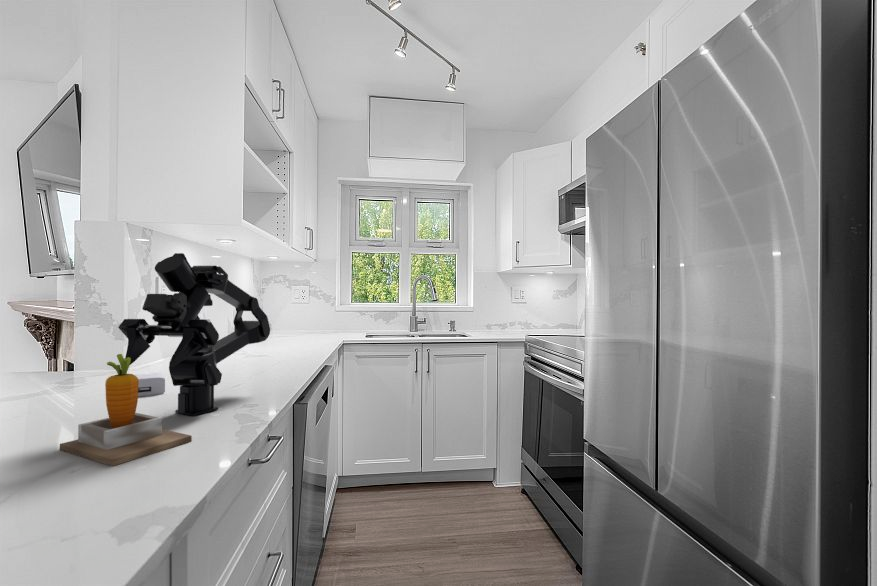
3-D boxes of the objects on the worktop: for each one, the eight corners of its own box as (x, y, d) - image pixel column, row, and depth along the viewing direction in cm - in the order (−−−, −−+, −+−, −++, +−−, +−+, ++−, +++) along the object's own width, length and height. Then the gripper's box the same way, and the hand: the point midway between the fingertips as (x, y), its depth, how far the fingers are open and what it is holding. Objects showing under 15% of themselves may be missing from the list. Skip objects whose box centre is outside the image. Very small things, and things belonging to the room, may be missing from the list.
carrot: (134, 440, 76) (135, 355, 76) (100, 443, 74) (100, 357, 74) (141, 431, 81) (142, 352, 81) (109, 435, 79) (110, 353, 79)
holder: (139, 428, 86) (140, 408, 86) (191, 441, 79) (191, 419, 79) (59, 449, 74) (60, 426, 74) (112, 466, 67) (112, 440, 67)
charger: (163, 384, 129) (164, 394, 117) (125, 388, 124) (122, 398, 112) (163, 369, 129) (165, 376, 117) (125, 372, 124) (123, 380, 112)
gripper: (126, 280, 90) (77, 338, 79) (211, 280, 89) (174, 339, 78) (153, 316, 98) (112, 373, 87) (232, 316, 97) (201, 374, 86)
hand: (148, 364), depth 84 cm, fingers open, 9 cm apart
